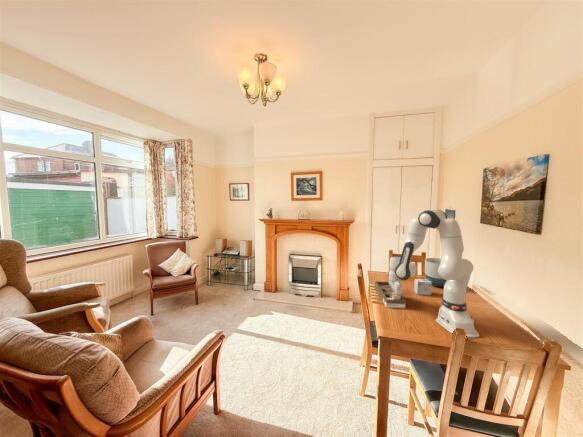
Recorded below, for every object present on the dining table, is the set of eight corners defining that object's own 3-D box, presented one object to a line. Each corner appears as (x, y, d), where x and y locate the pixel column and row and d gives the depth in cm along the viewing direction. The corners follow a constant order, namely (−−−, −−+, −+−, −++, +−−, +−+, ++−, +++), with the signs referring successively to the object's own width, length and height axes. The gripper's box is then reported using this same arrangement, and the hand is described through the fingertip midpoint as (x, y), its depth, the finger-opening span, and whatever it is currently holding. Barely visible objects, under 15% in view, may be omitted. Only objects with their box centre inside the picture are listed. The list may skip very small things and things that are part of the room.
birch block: (400, 301, 164) (400, 295, 164) (393, 301, 165) (394, 295, 164) (398, 298, 169) (398, 292, 169) (391, 297, 170) (392, 292, 169)
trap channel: (405, 308, 160) (405, 300, 160) (386, 307, 162) (386, 299, 161) (390, 288, 195) (390, 282, 194) (374, 287, 196) (375, 281, 196)
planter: (446, 292, 186) (448, 266, 184) (420, 284, 202) (421, 260, 200) (455, 285, 199) (456, 261, 197) (429, 279, 215) (430, 256, 213)
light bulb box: (427, 291, 187) (428, 278, 186) (431, 295, 181) (432, 282, 180) (413, 291, 188) (414, 278, 187) (417, 294, 182) (417, 281, 181)
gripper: (404, 282, 159) (404, 302, 161) (395, 272, 179) (394, 290, 181) (395, 282, 160) (394, 301, 161) (387, 272, 180) (386, 289, 182)
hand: (394, 295), depth 171 cm, fingers closed
